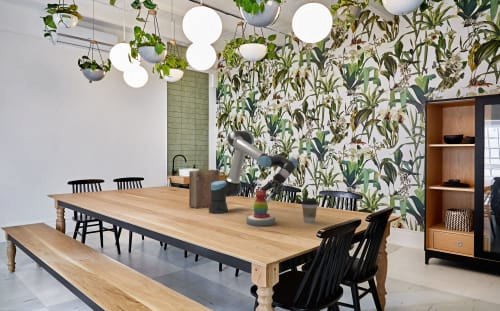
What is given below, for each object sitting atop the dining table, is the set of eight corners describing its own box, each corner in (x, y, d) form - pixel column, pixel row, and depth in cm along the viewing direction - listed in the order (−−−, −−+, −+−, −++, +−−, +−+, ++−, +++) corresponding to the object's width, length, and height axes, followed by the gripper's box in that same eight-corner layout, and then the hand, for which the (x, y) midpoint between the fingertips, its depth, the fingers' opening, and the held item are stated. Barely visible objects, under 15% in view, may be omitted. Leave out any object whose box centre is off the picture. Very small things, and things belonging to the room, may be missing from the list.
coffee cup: (307, 224, 228) (307, 201, 227) (297, 220, 238) (297, 199, 238) (321, 222, 233) (321, 200, 233) (311, 219, 243) (311, 197, 243)
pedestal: (241, 224, 228) (241, 217, 228) (256, 218, 244) (256, 213, 244) (266, 227, 217) (266, 221, 217) (280, 222, 233) (280, 216, 233)
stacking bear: (270, 216, 233) (270, 189, 233) (266, 219, 224) (266, 191, 223) (255, 215, 237) (255, 189, 237) (250, 217, 228) (250, 190, 227)
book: (196, 208, 283) (196, 171, 282) (189, 207, 289) (189, 171, 288) (219, 204, 302) (219, 170, 301) (211, 203, 308) (211, 169, 307)
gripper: (295, 182, 226) (275, 206, 220) (275, 178, 249) (256, 201, 242) (288, 174, 224) (268, 199, 217) (269, 171, 246) (250, 193, 240)
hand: (262, 200), depth 230 cm, fingers open, 13 cm apart
